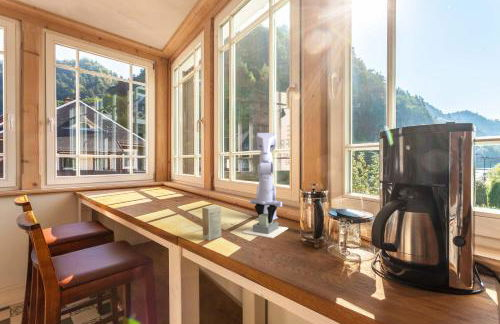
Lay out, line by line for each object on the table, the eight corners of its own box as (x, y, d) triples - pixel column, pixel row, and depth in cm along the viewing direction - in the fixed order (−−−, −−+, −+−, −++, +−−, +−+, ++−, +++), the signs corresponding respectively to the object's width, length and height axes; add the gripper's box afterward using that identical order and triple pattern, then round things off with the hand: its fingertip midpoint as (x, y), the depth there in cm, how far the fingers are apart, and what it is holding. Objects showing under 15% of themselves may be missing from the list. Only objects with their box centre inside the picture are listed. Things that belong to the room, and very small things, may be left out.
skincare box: (215, 234, 103) (215, 204, 103) (221, 237, 100) (221, 206, 100) (201, 238, 98) (201, 207, 98) (208, 240, 95) (208, 208, 95)
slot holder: (260, 224, 119) (260, 218, 118) (288, 228, 111) (288, 221, 111) (242, 233, 105) (242, 225, 105) (272, 238, 98) (272, 230, 98)
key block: (258, 227, 106) (258, 215, 106) (265, 223, 111) (265, 212, 111) (266, 228, 104) (266, 216, 104) (272, 224, 110) (272, 213, 110)
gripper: (246, 190, 108) (246, 221, 108) (277, 192, 101) (277, 226, 101) (254, 188, 114) (254, 218, 114) (284, 190, 107) (284, 222, 107)
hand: (265, 222), depth 108 cm, fingers closed on key block, 4 cm apart
